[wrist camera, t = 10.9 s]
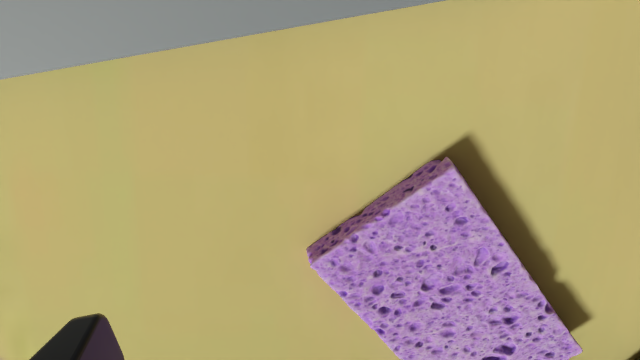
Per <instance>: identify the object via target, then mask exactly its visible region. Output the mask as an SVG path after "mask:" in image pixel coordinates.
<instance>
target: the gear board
mask: <svg viewBox="0 0 640 360" xmlns="http://www.w3.org/2000/svg"><path fill="white" fill-rule="evenodd" d="M439 1H444V0H0V79H6V78H12V77H17V76H23V75H29V74H34V73H40V72H45V71H51V70H57V69H62V68H68V67H73V66H79V65H85V64H90V63H96V62H102V61H107V60H113V59H118V58H124V57H130V56H135V55H141V54H147V53H152V52H158V51H163V50H169V49H175V48H180V47H186V46H192V45H197V44H203V43H208V42H214V41H220V40H225V39H231V38H236V37H242V36H248V35H253V34H259V33H265V32H270V31H276V30H281V29H287V28H293V27H298V26H304V25H310V24H315V23H321V22H326V21H332V20H338V19H343V18H349V17H355V16H360V15H366V14H371V13H377V12H383V11H388V10H394V9H400V8H405V7H411V6H416V5H422V4H428V3H433V2H439Z"/></svg>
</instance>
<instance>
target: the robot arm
mask: <svg viewBox="0 0 640 360" xmlns="http://www.w3.org/2000/svg"><path fill="white" fill-rule="evenodd" d="M29 360H124V356H123V353H122V351H121V349H120V346H119V344H118V342H117V340H116V337H115V335H114V333H113V330H112V328H111V326H110V324H109V321H108V320H107V318H106V317H105V316H104V315H102V314H99V313H97V314H92V315H87V316H82V317H77V318H74V319H72V320H70V321H69V322H68V323H67V324H66V325H65V326H64V327H63V328H62V329H61V330H60V331H59V332H58V333H57V334H56V335H55V336H53V337H52V338H51V339H50V340H49V341H48V342H47V343H46V344H45V345H44V346H43V347H42V348H41V349H40V350H39V351H38V352H37V353H36V354H35V355H34V356H33V357H32V358H31V359H29Z"/></svg>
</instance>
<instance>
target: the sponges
mask: <svg viewBox="0 0 640 360" xmlns="http://www.w3.org/2000/svg"><path fill="white" fill-rule="evenodd" d="M307 255H308V257H309V259H308V260H309V262H310V264H311V265H310V267H311V268H312V269H314V270H316V271H317V273H318V275H319V276H320V277H321V278H322V279H323V280H324V281H325V282H326V283H327V284H328V285H329V286H330V287H331V288H332V289H333V290H335V291H336V293H338V294H339V295H340V297H341V298H342V299H343V300H344V301H345V302H346V303H347V305H348V306H349V307H350V308H351V309H352V310H353V311H354V312H355V313H357V314H358V315H359V316H360V317H361V319H362V320H364V321H365V322H366V323H367V324H368V325H369V327H370V328H371V329H374V330H375V331H376V332H377V334H378V335H379V337H380V338H381V339H382V340H383V341H384V342H385V343H386V344H387V345H388V347H389V348H390V349H391V350H392V351H393V352H394V353H395V355H397V356H398V357H399V359H403V360H568V359H569V358H571V357H572V356H576V355H578V354H580V353H582V351H583V350H582V348H581V347H580V346H579V344H578V343H577V342H576V341H575V339H574V338H573V337H572V335H571V334H570V332H569V330H568V329H567V328H566V327H565V325H564V323H563V322H562V321H561V319H560V318H559V317H558V315H557V313H556V312H555V311H554V309H553V308H552V306H551V304H550V303H549V302H548V301H547V299H546V297H545V296H544V295H543V294H542V292H541V290H540V289H539V288H538V286H537V284H536V283H535V282H534V280H533V279H532V277H531V276H530V274H529V273H528V271H527V270H526V269H525V267H524V265H523V264H522V263H521V261H520V260H519V258H518V256H517V255H516V254H515V252H514V251H513V250H512V248H511V247H510V245H509V243H508V242H507V241H506V239H505V238H504V236H503V235H502V234H501V232H500V231H499V229H498V228H497V226H496V225H495V223H494V222H493V220H492V219H491V218H490V217H489V215H488V214H487V212H486V210H485V209H484V208H483V206H482V205H481V204H480V202H479V201H478V199H477V197H476V196H475V194H474V193H473V191H472V190H471V188H470V187H469V185H468V184H467V182H466V180H465V179H464V178H463V176H462V175H461V174H460V172H459V171H458V169H457V167H456V166H455V165H454V164H453V163H452V161H451V160H450V159H449V158H448V157H445V158H444V160H443V161H440V160H434V161H430V162H428V163H427V164H425V165H424V166H422V167H421V168H420V169H418V170H417V171H416V172H414V173H413V174H412V175H411V176H410V177H409V178H408V179H405V180H403V181H402V182H400V183H399V184H398V185H396V186H394V187H393V188H392V189H390V190H389V191H388V192H386V193H385V194H384V195H382V196H381V197H379V198H378V199H376V200H375V201H374V202H373V203H372V204H370V205H369V206H367V207H366V208H365V209H364V210H363V212H362V214H361V215H358V216H355V217H353V218H350V219H349V220H347V221H346V222H344V223H343V224H341V225H340V226H338V227H337V228H336V229H335V230H333V231H332V232H330V233H328V234H327V235H325V236H324V237H322V238H321V239H319V240H318V241H317V242H315V243H314V244H312V245H311V246H309V247H308V248H307Z"/></svg>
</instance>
